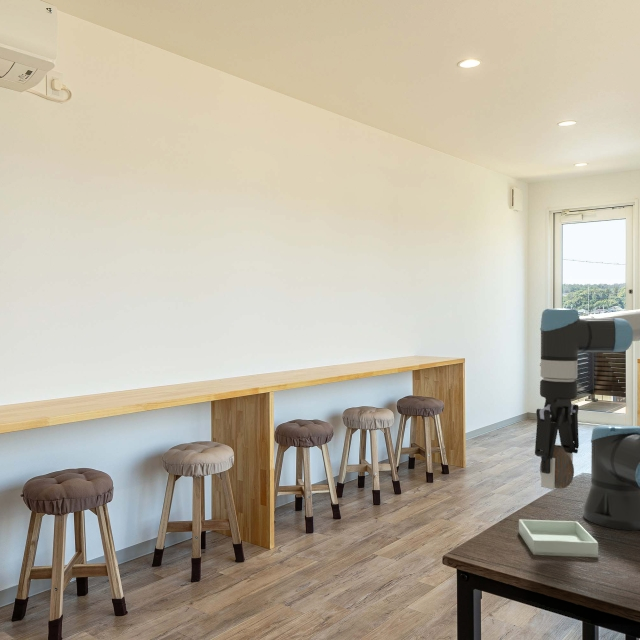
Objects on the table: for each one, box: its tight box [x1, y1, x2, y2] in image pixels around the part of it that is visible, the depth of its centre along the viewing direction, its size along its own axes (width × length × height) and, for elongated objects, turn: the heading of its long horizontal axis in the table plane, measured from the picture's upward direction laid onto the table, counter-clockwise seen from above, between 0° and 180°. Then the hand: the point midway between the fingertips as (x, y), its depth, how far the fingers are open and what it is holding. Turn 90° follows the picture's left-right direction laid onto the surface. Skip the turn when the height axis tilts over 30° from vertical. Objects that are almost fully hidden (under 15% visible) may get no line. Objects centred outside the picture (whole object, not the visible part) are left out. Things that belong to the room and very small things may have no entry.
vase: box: [539, 444, 575, 489], centre depth 134 cm, size 7×7×9 cm
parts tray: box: [518, 519, 599, 558], centre depth 134 cm, size 13×13×3 cm
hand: (556, 484), depth 134 cm, fingers closed on vase, 7 cm apart
